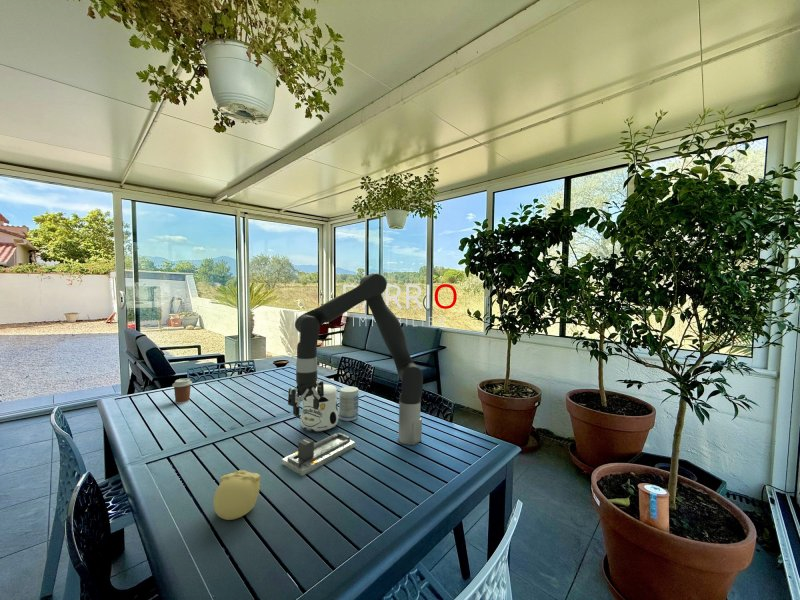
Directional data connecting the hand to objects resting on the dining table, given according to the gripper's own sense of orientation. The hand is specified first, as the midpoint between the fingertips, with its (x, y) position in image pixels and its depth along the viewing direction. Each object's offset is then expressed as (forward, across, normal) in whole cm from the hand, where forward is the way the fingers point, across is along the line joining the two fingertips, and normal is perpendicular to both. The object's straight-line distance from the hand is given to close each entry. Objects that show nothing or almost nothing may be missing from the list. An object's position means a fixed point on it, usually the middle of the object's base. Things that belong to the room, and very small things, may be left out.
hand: (306, 412), depth 116 cm
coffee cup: (+19, -4, +104) cm, 106 cm away
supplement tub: (+20, +39, +17) cm, 47 cm away
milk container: (+19, +23, +20) cm, 36 cm away
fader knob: (+17, 0, 0) cm, 17 cm away
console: (+19, +7, 0) cm, 20 cm away
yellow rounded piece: (+19, -28, -5) cm, 34 cm away
